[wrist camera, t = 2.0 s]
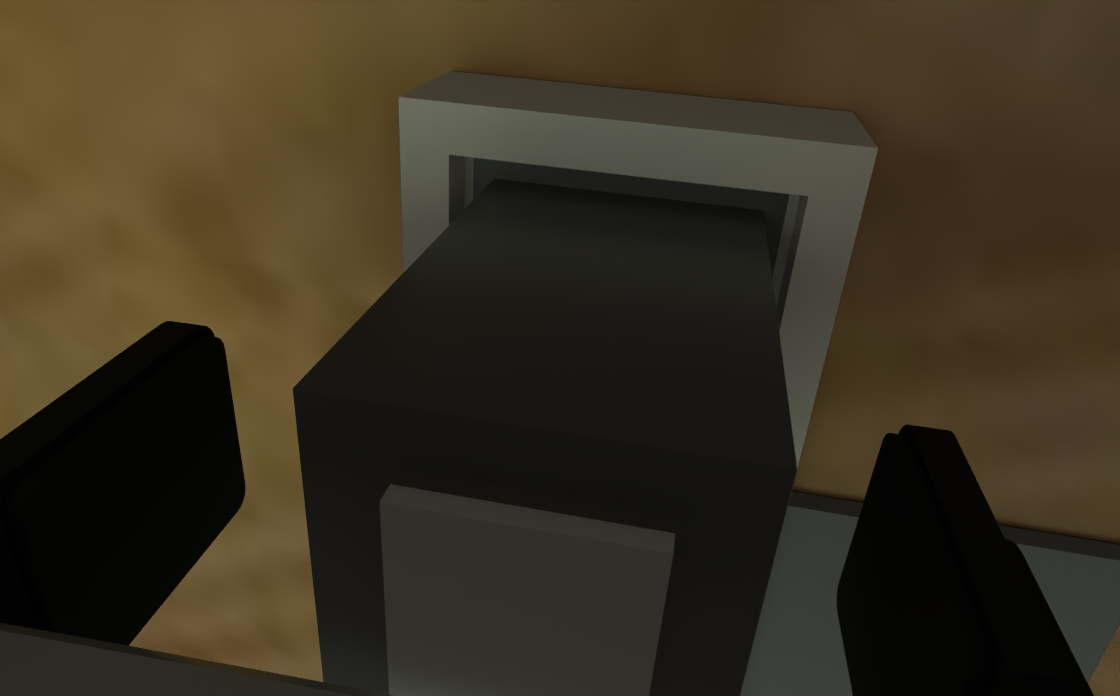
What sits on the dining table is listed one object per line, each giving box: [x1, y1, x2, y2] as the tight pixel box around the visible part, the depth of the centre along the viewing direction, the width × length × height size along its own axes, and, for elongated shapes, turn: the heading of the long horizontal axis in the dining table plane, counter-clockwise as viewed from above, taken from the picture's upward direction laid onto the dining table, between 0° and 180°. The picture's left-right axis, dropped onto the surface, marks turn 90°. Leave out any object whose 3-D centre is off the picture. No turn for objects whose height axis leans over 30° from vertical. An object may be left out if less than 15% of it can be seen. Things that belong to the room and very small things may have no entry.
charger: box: [293, 179, 797, 696], centre depth 12 cm, size 5×5×8 cm
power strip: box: [399, 71, 878, 655], centre depth 17 cm, size 8×20×8 cm, turn 177°
